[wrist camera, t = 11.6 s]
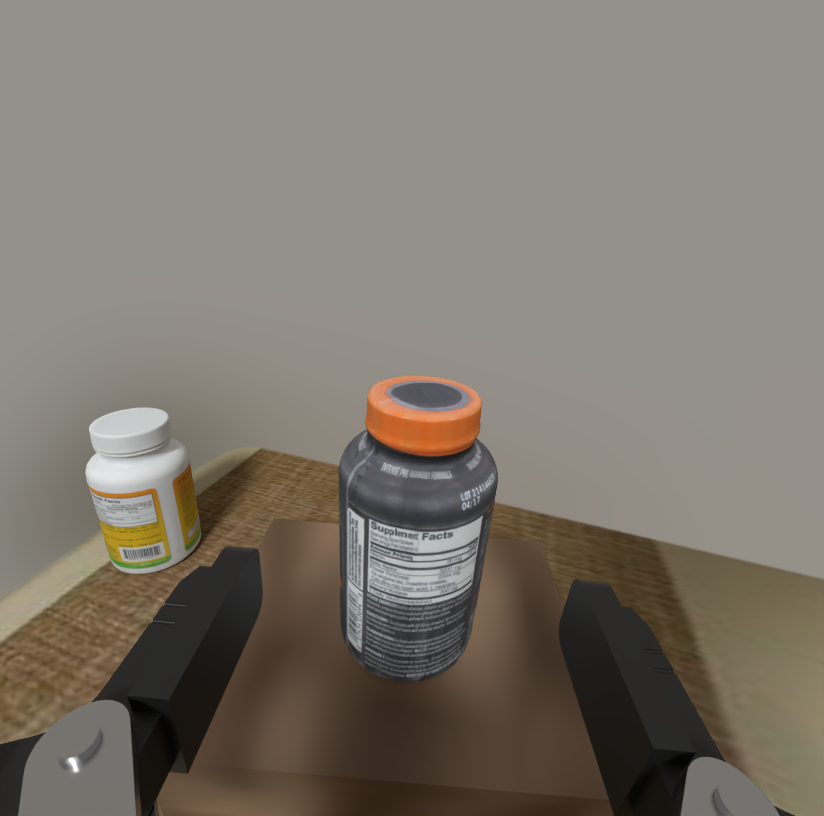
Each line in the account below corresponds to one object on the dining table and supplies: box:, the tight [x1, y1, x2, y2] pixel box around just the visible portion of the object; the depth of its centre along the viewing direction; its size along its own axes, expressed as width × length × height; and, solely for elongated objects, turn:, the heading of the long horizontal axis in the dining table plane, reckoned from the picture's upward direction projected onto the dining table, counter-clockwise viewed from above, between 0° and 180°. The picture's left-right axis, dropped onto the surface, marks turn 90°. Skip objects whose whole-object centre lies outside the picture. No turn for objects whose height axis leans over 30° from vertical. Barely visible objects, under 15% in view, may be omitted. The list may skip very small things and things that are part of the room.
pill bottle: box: [339, 376, 498, 682], centre depth 16 cm, size 6×6×11 cm
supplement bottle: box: [85, 408, 201, 574], centre depth 26 cm, size 5×5×10 cm
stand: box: [158, 518, 614, 816], centre depth 20 cm, size 16×12×5 cm
